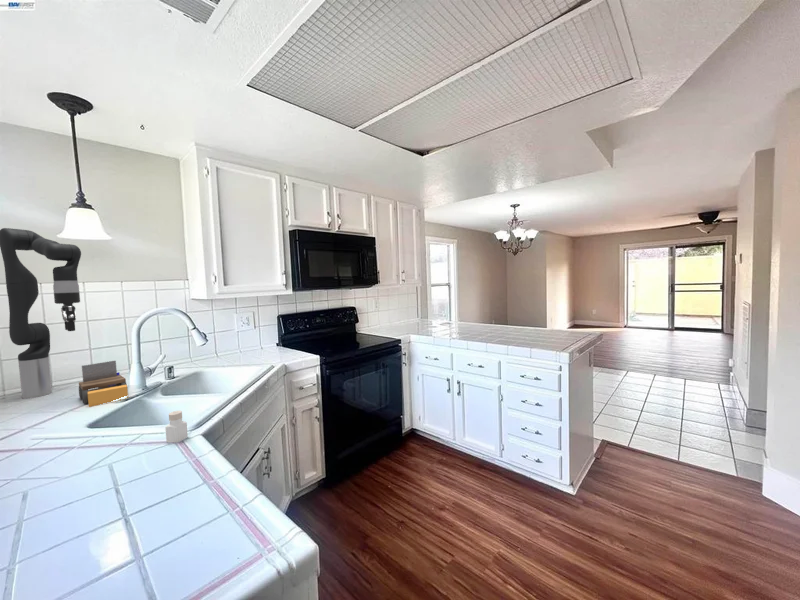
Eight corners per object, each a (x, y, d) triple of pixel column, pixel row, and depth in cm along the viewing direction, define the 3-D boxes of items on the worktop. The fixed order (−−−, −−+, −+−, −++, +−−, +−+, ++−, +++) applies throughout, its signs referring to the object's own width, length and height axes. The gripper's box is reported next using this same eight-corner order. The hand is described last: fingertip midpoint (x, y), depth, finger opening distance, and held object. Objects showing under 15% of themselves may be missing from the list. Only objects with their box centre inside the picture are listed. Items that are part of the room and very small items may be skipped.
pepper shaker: (177, 448, 93) (175, 415, 93) (165, 447, 94) (163, 415, 94) (189, 441, 97) (186, 410, 97) (177, 440, 98) (175, 409, 98)
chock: (89, 406, 132) (87, 391, 131) (127, 398, 140) (126, 384, 140) (88, 408, 129) (87, 393, 128) (128, 400, 137) (127, 386, 137)
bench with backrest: (79, 398, 141) (76, 365, 141) (120, 390, 152) (117, 359, 151) (85, 406, 131) (81, 370, 131) (128, 396, 142) (125, 363, 141)
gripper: (81, 291, 135) (85, 330, 135) (76, 291, 144) (80, 328, 144) (55, 292, 129) (59, 332, 130) (52, 292, 138) (55, 330, 139)
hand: (70, 330), depth 137 cm, fingers open, 8 cm apart
